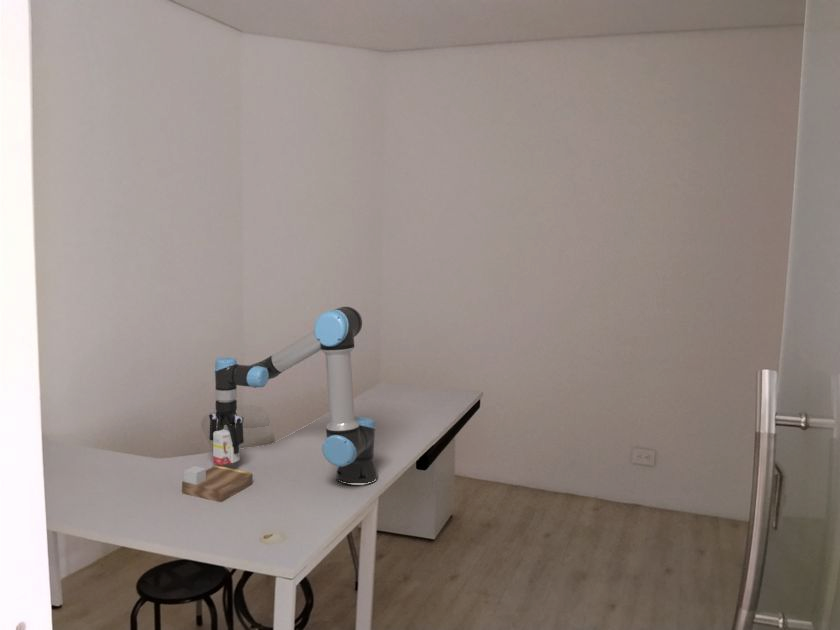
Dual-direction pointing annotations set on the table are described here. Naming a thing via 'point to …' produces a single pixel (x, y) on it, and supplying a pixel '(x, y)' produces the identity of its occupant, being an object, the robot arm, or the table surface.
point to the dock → (219, 484)
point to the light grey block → (195, 475)
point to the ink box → (222, 447)
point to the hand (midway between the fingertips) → (226, 460)
